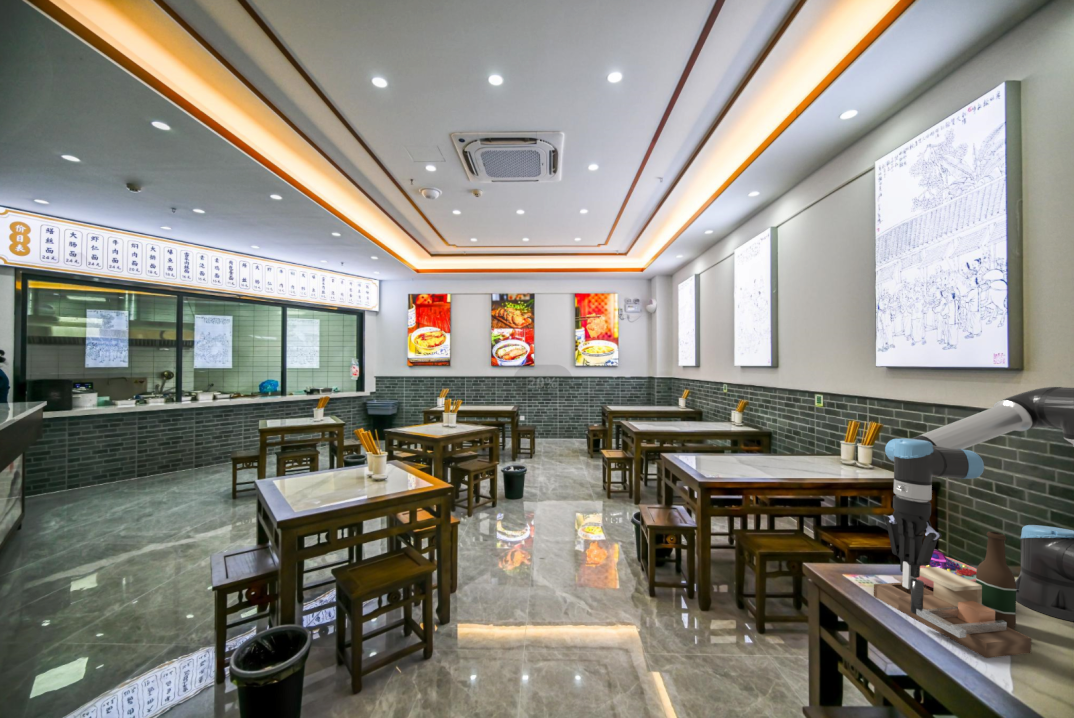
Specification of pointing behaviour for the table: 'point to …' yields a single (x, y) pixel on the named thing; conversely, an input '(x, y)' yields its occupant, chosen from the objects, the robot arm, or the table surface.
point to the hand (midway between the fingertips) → (909, 587)
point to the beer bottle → (997, 581)
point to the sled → (948, 615)
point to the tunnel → (952, 586)
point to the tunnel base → (977, 642)
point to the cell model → (949, 568)
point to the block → (974, 612)
